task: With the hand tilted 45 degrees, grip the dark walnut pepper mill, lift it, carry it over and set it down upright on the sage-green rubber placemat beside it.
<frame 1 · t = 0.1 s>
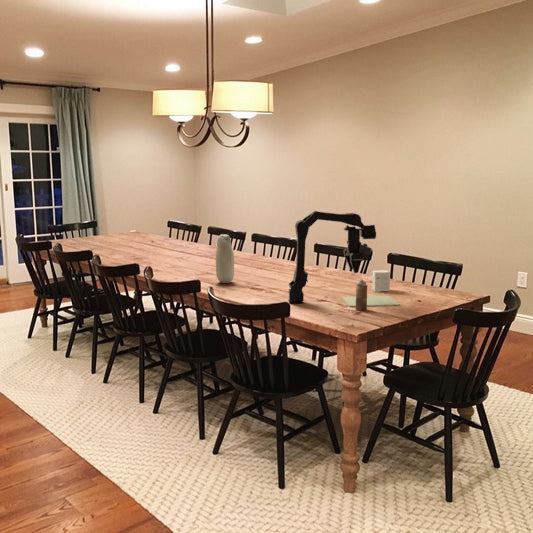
hand: (353, 271, 267), 15 cm above the table, tool pointing down, fingers open, 9 cm apart
pepper mill: (361, 309, 252), on the table
small box: (380, 291, 291), on the table
grey tall rounded piece: (225, 283, 315), on the table
placemat: (369, 301, 267), on the table
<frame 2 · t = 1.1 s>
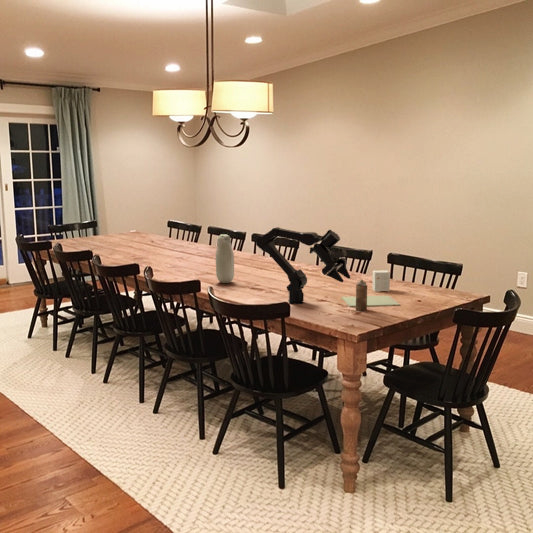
hand: (346, 279, 253), 13 cm above the table, tool tilted 45°, fingers open, 9 cm apart
nothing on the table moved.
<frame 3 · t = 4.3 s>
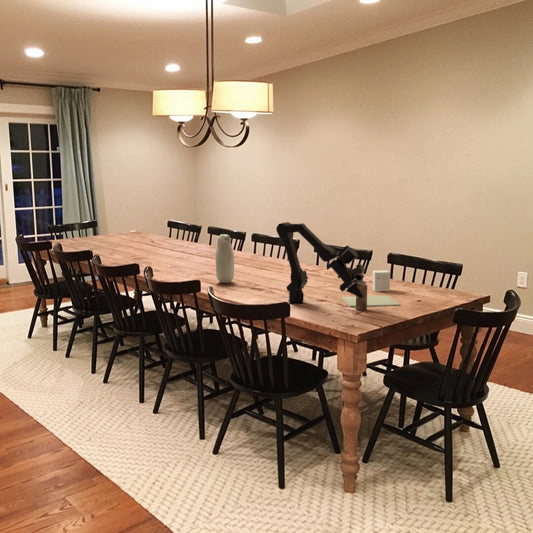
hand: (364, 296, 250), 7 cm above the table, tool tilted 45°, fingers closed on pepper mill, 5 cm apart
pepper mill: (361, 309, 252), on the table, touching gripper
everything else where it was.
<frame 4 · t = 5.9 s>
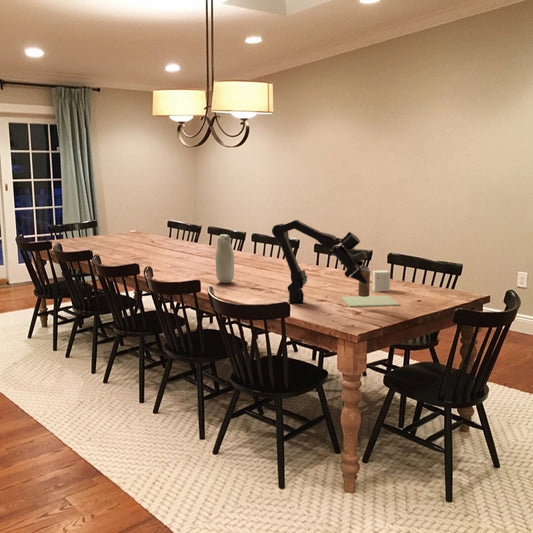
hand: (367, 281, 253), 12 cm above the table, tool tilted 45°, fingers closed on pepper mill, 5 cm apart
pepper mill: (363, 295, 255), point 6 cm above the table, touching gripper
everything else where it was.
when the fingers open (8 cm above the table, at t = 7.9 s): pepper mill stays where it is, resting on placemat.
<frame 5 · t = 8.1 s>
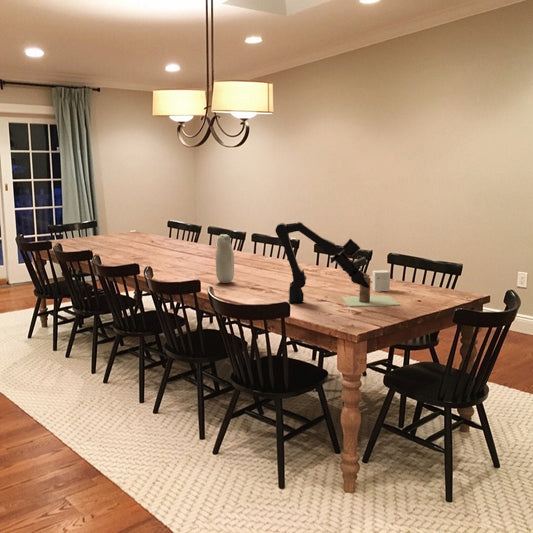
hand: (368, 285, 263), 8 cm above the table, tool tilted 45°, fingers open, 7 cm apart
pepper mill: (364, 301, 265), point 1 cm above the table, touching placemat
everything else where it was.
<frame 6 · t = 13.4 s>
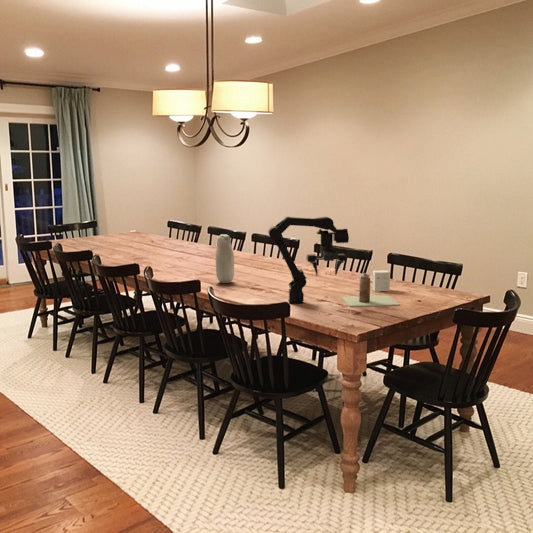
hand: (326, 275, 266), 13 cm above the table, tool pointing down, fingers open, 9 cm apart
nothing on the table moved.
at the end: pepper mill inside the target area on the placemat (0.2 cm from its centre), point 0.6 cm above the placemat's base; pepper mill tilted 0°; the gripper is holding nothing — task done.
